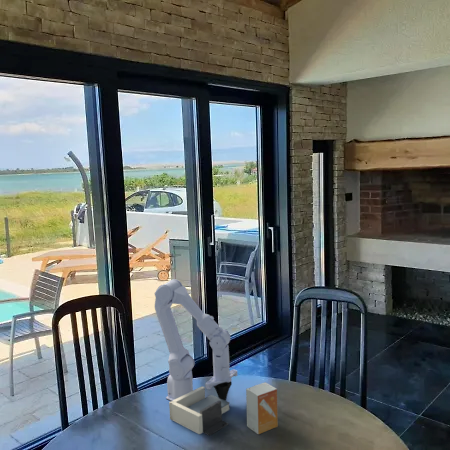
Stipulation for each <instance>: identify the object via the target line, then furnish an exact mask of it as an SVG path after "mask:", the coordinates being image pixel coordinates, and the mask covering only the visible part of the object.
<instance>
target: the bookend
mask: <svg viewBox="0 0 450 450" xmlns="http://www.w3.org/2000/svg"><path fill="white" fill-rule="evenodd" d="M200 414H202V424H203V433H202V434H205V435H207V436H212V435H214V434H215V433H216V432H219V431H220V430H222V429H223V428H225V427H226V426H228V425H229V423H228V422H226V421H225V420H223V414H222V411H221V401H217V402H215V403H213V404H211V405H209V406H208V407H206V408H204V409H202V410H200Z"/></svg>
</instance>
